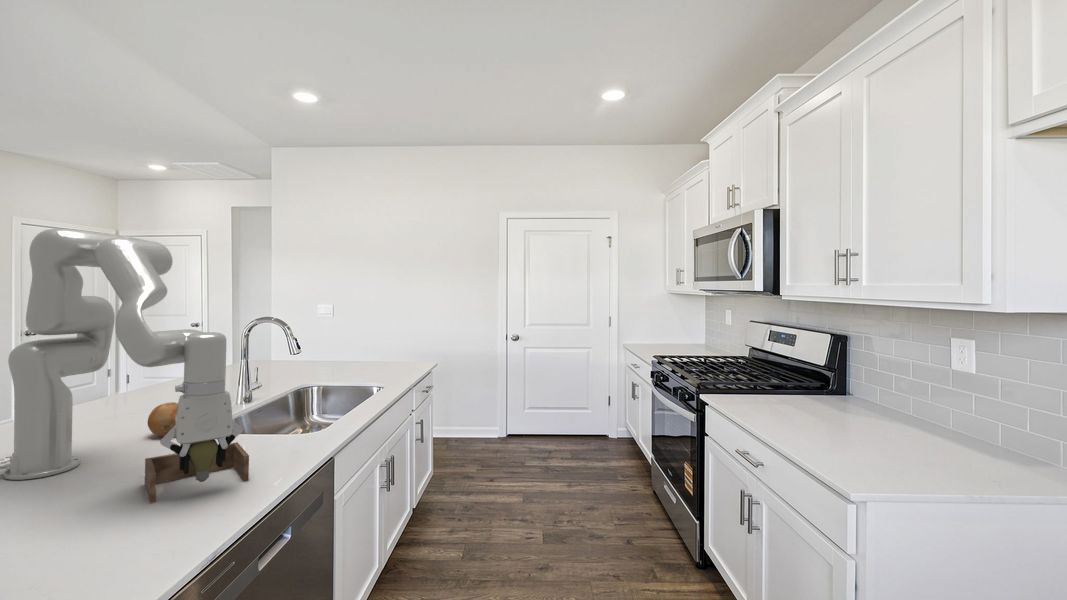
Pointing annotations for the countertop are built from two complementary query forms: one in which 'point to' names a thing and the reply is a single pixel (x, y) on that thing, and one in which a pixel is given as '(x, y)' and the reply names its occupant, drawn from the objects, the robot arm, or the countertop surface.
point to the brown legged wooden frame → (190, 468)
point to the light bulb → (202, 457)
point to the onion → (162, 418)
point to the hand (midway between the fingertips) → (202, 467)
